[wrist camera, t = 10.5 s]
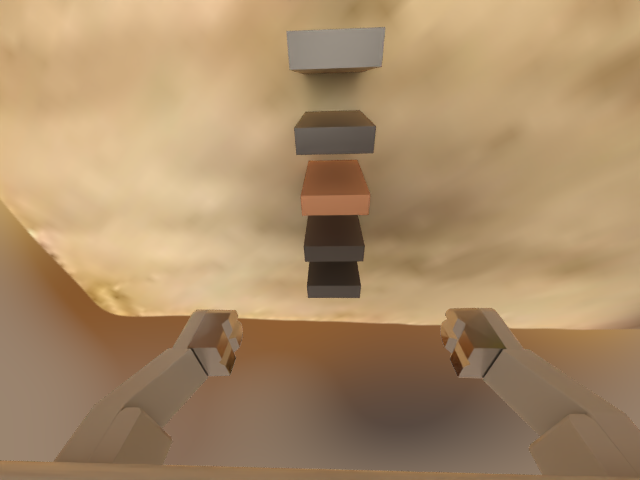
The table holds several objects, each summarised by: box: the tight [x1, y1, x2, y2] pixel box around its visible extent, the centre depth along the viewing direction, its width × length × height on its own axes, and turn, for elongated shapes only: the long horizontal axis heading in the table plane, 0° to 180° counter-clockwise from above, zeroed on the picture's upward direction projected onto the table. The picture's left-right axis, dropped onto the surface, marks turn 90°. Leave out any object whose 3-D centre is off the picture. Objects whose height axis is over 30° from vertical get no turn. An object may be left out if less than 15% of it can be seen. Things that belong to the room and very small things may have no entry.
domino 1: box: [287, 27, 385, 74], centre depth 16 cm, size 2×5×9 cm, turn 92°
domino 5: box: [307, 261, 361, 298], centre depth 26 cm, size 2×5×9 cm, turn 92°
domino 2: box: [294, 110, 376, 155], centre depth 19 cm, size 2×5×9 cm, turn 91°
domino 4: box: [304, 215, 365, 262], centre depth 24 cm, size 2×5×9 cm, turn 91°
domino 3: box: [301, 160, 370, 216], centre depth 21 cm, size 2×5×9 cm, turn 91°
